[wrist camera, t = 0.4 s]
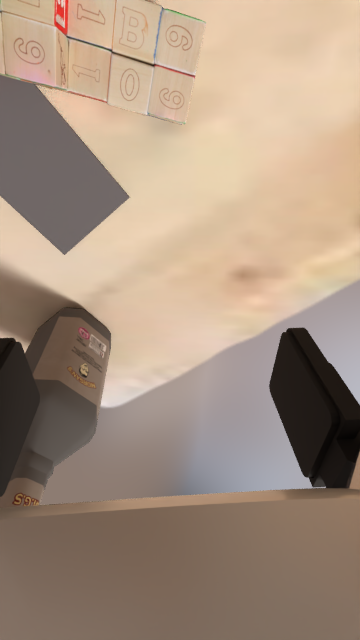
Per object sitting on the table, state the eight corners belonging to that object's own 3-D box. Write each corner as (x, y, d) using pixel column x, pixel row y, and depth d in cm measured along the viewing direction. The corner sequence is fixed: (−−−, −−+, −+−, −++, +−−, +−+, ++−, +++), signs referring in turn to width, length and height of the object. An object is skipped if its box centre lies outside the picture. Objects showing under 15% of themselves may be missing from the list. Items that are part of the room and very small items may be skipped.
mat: (-70, -40, 25) (-72, -42, 24) (129, 196, 36) (129, 197, 36) (-136, 68, 28) (-139, 67, 28) (65, 254, 39) (64, 254, 39)
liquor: (73, 297, 43) (-37, 557, 18) (120, 337, 47) (83, 590, 22) (31, 332, 45) (-115, 598, 21) (79, 366, 50) (5, 620, 25)
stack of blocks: (192, 46, 29) (217, 9, 18) (177, 124, 32) (190, 129, 22) (-68, -42, 24) (-223, -153, 14) (-55, 58, 28) (-173, 26, 18)
